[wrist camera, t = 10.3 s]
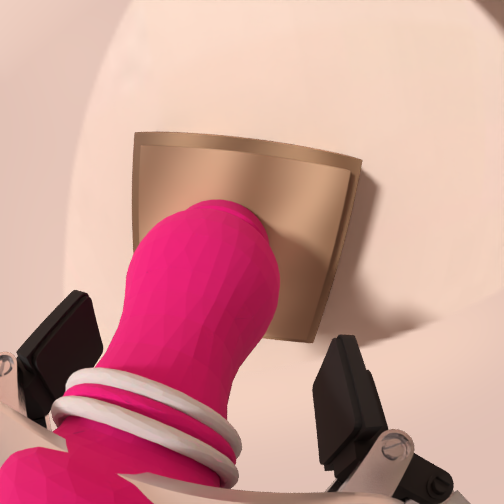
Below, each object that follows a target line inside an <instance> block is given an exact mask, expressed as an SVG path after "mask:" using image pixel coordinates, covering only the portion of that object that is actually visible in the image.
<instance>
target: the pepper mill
mask: <svg viewBox="0 0 504 504" xmlns="http://www.w3.org/2000/svg"><path fill="white" fill-rule="evenodd" d="M279 290H280V273H279V268H278V264H277V261H276V258H275V256H274V254H273V251H272V249H271V247H270V245H269V239H268V235H267V233H266V230H265V228H264V226H263V225H262V223H261V222H260V220H259V219H258V218H257V217H256V216H255V215H254V214H253V213H252V212H251V211H250V210H248V209H247V208H245V207H244V206H242V205H240V204H238V203H235V202H232V201H228V200H222V199H219V200H206V201H201V202H199V203H196V204H194V205H192V206H190V207H189V208H188V209H186V210H184V211H180V212H177V213H175V214H173V215H170V216H168V217H166V218H164V219H163V220H161V221H160V222H159V223H157V224H156V225H155V226H154V227H153V228H152V229H151V230H150V231H149V232H148V233H147V235H146V236H145V237H144V238H143V239H142V241H141V242H140V244H139V245H138V247H137V249H136V250H135V252H134V254H133V257H132V260H131V262H130V265H129V268H128V272H127V275H126V289H125V299H124V307H123V312H122V316H121V319H120V323H119V326H118V329H117V331H116V333H115V335H114V337H113V339H112V341H111V343H110V345H109V347H108V349H107V351H106V353H105V355H104V356H103V357H102V358H101V360H100V361H99V362H98V364H97V365H96V366H95V368H85V369H81V370H78V371H76V372H74V373H73V374H72V375H71V376H70V377H69V379H68V381H67V383H66V392H65V393H64V395H63V397H60V398H58V399H56V400H55V401H54V403H53V404H52V408H51V413H52V418H53V421H54V422H55V424H56V426H57V429H55V430H54V431H53V433H55V434H57V435H59V436H60V437H62V438H64V439H66V446H67V449H68V452H64V451H59V450H54V449H49V448H44V447H33V448H28V449H24V450H20V451H17V452H15V453H13V454H11V455H10V456H9V458H8V459H7V460H6V461H5V462H4V463H3V465H2V467H1V468H0V504H154V503H153V502H151V501H150V500H149V499H148V498H147V497H146V496H145V495H144V494H143V493H142V492H141V491H140V490H139V489H138V487H136V486H135V485H134V484H133V483H131V482H129V481H128V480H126V479H124V478H123V477H121V476H119V475H118V474H141V473H146V472H149V473H153V474H156V475H160V476H164V477H168V478H172V479H176V480H180V481H185V482H190V483H195V484H200V485H205V486H211V487H218V488H225V489H231V488H232V487H233V486H234V485H235V484H236V483H237V481H238V478H239V474H238V470H237V468H236V466H235V464H236V459H237V458H238V456H239V455H240V453H241V450H242V443H241V439H240V437H239V435H238V433H237V431H236V430H235V429H234V428H233V426H232V425H231V424H230V423H229V422H228V421H227V404H228V399H229V395H230V391H231V386H232V382H233V380H234V378H235V376H236V373H237V371H238V369H239V367H240V366H241V365H242V363H243V362H244V361H245V359H246V358H247V357H248V355H249V354H250V353H251V351H252V350H253V349H254V348H255V346H256V345H257V344H258V343H259V341H260V340H261V339H262V337H263V336H264V335H265V333H266V331H267V329H268V327H269V325H270V323H271V321H272V319H273V317H274V314H275V311H276V308H277V305H278V298H279Z"/></svg>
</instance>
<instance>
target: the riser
mask: <svg viewBox="0 0 504 504" xmlns="http://www.w3.org/2000/svg"><path fill="white" fill-rule="evenodd" d="M361 165H362V160H361V159H358V158H354V157H351V156H347V155H343V154H339V153H334V152H329V151H325V150H320V149H314V148H309V147H304V146H298V145H292V144H286V143H280V142H273V141H266V140H259V139H251V138H243V137H233V136H223V135H212V134H198V133H180V132H135V135H134V150H133V171H132V230H133V252H135V250H136V249H137V247H138V245H139V244H140V242H141V241H142V239H143V238H144V237H145V236H146V235H147V233H148V232H149V231H150V230H151V229H152V228H153V227H154V226H155V225H156V224H157V223H159V222H160V221H161V220H163V219H164V218H166V217H168V216H170V215H173V214H175V213H177V212H180V211H184V210H186V209H188V208H189V207H190V206H192V205H194V204H196V203H199V202H201V201H206V200H219V199H222V200H228V201H232V202H235V203H238V204H240V205H242V206H244V207H245V208H247V209H248V210H250V211H251V212H252V213H253V214H254V215H255V216H256V217H257V218H258V219H259V220H260V222H261V223H262V225H263V226H264V228H265V230H266V233H267V235H268V239H269V245H270V247H271V249H272V251H273V254H274V256H275V258H276V261H277V264H278V268H279V273H280V290H279V298H278V305H277V308H276V311H275V314H274V317H273V319H272V321H271V323H270V325H269V327H268V329H267V331H266V333H265V335H264V336H263V337H262V338H266V339H274V340H283V341H293V342H304V343H313V342H314V339H315V336H316V333H317V330H318V327H319V324H320V321H321V318H322V315H323V312H324V309H325V306H326V303H327V300H328V297H329V293H330V290H331V287H332V284H333V280H334V277H335V273H336V270H337V266H338V263H339V259H340V256H341V252H342V248H343V245H344V241H345V237H346V233H347V229H348V225H349V221H350V217H351V212H352V208H353V204H354V199H355V195H356V190H357V185H358V181H359V176H360V171H361Z"/></svg>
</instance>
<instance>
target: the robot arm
mask: <svg viewBox="0 0 504 504" xmlns="http://www.w3.org/2000/svg"><path fill="white" fill-rule="evenodd" d="M102 352H103V344H102V341H101V337H100V333H99V329H98V325H97V321H96V317H95V313H94V309H93V304H92V300H91V298H90V297H89V295H88V294H87V293H85V292H81V291H78V290H74V291H72V292H71V293H70V294H69V295H68V296H67V297H66V298H65V299H64V300H63V301H62V302H61V303H60V305H58V306H57V307H56V308H55V310H54V311H53V312H52V313H51V314H50V315H49V316H48V317H47V318H46V319H45V320H44V321H43V322H42V323H41V324H40V326H39V327H38V328H37V329H36V330H35V331H34V332H33V333H32V334H31V336H30V337H29V338H28V339H27V340H26V341H25V342H24V344H23V345H22V346H21V347H20V348H19V349H18V351H17V354H18V357H17V358H15V356H14V355H13V354H12V353H9V352H2V353H0V468H1V467H2V465H3V463H4V462H5V461H6V460H7V459H8V458H9V456H10V455H11V454H13V453H15V452H17V451H20V450H24V449H28V448H33V447H44V448H49V449H54V450H59V451H64V452H68V449H67V446H66V439H64V438H62V437H60V436H59V435H57V434H55V433H53V432H52V429H51V424H50V419H49V414H48V413H49V412H50V410H51V408H52V404H53V403H54V401H55V400H56V399H58V398H60V397H63V395H64V393H65V392H66V383H67V381H68V379H69V377H70V376H71V375H72V374H73V373H74V372H76V371H78V370H81V369H85V368H93V367H94V366H95V364H96V362H97V361H98V359H99V358H100V356H101V354H102ZM312 391H313V401H314V409H315V419H316V429H317V439H318V448H319V460H320V464H322V465H324V468H325V471H332V470H334V475H335V478H336V479H335V480H334V481H333V483H332V484H331V485H330V486H329V487H328V489H327V490H326V491H325V492H324V493H272V492H254V491H243V490H233V489H225V488H218V487H211V486H205V485H200V484H195V483H190V482H185V481H180V480H176V479H172V478H168V477H164V476H160V475H156V474H153V473H149V472H146V473H141V474H118V475H119V476H121V477H123V478H124V479H126V480H128V481H129V482H131V483H133V484H134V485H135V486H136V487H138V489H139V490H140V491H141V492H142V493H143V494H144V495H145V496H146V497H147V498H148V499H149V500H150V501H151V502H153V503H154V504H470V503H469V502H468V501H467V500H466V499H465V498H464V496H463V495H462V494H461V493H460V492H459V491H458V490H457V491H455V492H454V491H453V484H454V483H453V480H452V477H451V476H450V474H449V473H447V472H446V471H444V470H443V469H441V468H439V467H437V466H435V465H434V464H432V463H430V462H429V461H427V460H425V459H423V458H422V457H420V456H418V455H417V454H415V453H414V443H413V440H412V439H411V437H410V436H409V435H408V434H407V433H405V432H404V431H401V430H398V429H390V430H388V426H387V423H386V419H385V416H384V412H383V409H382V405H381V402H380V399H379V396H378V393H377V389H376V386H375V383H374V380H373V377H372V374H371V372H370V371H369V370H366V368H365V364H364V361H363V358H362V355H361V352H360V350H359V347H358V344H357V341H356V338H355V336H353V335H338V337H337V338H333V339H332V341H331V344H330V346H329V349H328V351H327V354H326V356H325V358H324V361H323V363H322V366H321V368H320V370H319V373H318V375H317V377H316V379H315V381H314V384H313V389H312Z"/></svg>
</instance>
